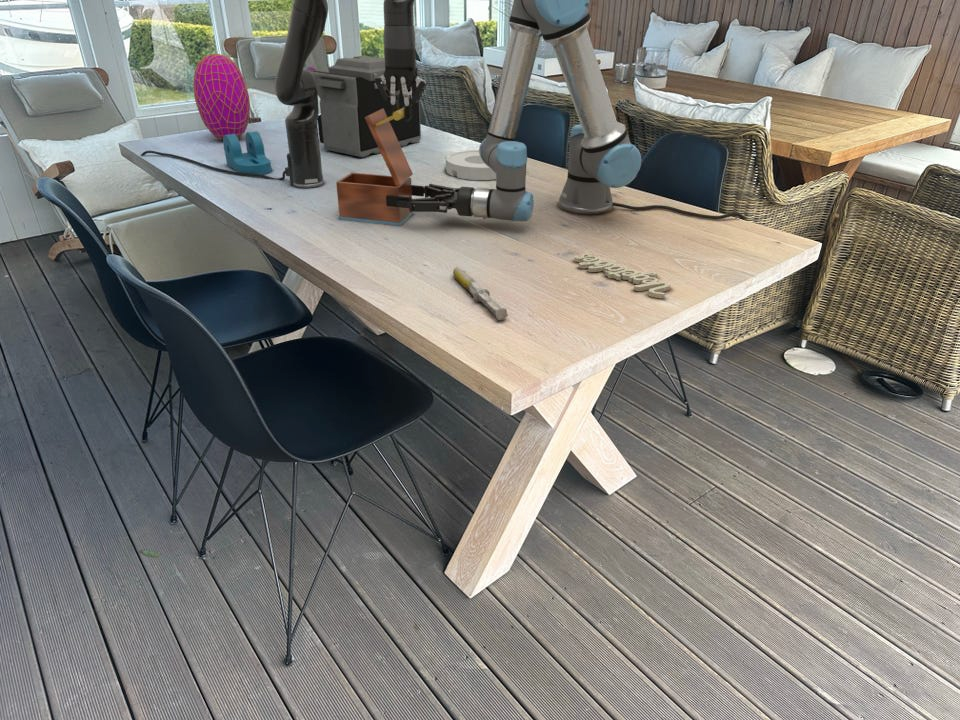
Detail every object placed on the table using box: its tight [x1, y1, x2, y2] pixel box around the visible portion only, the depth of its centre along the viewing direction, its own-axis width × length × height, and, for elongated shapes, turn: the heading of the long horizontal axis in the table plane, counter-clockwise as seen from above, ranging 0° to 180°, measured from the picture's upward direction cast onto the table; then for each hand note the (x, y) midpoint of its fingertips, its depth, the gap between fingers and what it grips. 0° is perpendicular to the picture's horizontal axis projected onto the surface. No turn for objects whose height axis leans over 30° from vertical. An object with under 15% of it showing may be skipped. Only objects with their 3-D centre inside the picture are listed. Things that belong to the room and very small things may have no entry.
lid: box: [365, 107, 414, 186], centre depth 177 cm, size 18×10×9 cm
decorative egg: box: [193, 53, 251, 140], centre depth 257 cm, size 19×19×30 cm
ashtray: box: [445, 149, 496, 181], centre depth 229 cm, size 23×23×4 cm
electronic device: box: [311, 55, 422, 159], centre depth 250 cm, size 37×22×30 cm, turn 144°
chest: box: [335, 172, 414, 226], centre depth 186 cm, size 18×10×10 cm, turn 75°
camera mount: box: [222, 131, 272, 175], centre depth 226 cm, size 18×10×10 cm, turn 35°
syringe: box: [452, 266, 509, 321], centre depth 145 cm, size 25×4×3 cm, turn 21°
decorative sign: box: [574, 252, 671, 299], centre depth 155 cm, size 26×1×10 cm
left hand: (402, 120), depth 174 cm, fingers closed on lid, 2 cm apart
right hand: (394, 194), depth 184 cm, fingers closed on chest, 10 cm apart
